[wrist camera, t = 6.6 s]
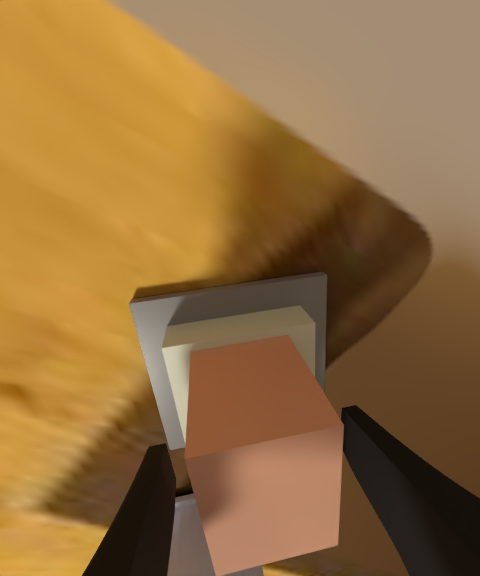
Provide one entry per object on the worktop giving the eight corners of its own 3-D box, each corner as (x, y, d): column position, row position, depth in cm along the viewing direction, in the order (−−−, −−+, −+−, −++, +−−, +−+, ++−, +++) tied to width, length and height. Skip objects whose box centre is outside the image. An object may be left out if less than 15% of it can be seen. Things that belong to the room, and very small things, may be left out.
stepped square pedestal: (320, 411, 18) (339, 446, 15) (171, 441, 17) (166, 483, 14) (322, 271, 14) (347, 288, 12) (131, 298, 13) (116, 323, 11)
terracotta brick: (292, 429, 14) (337, 545, 10) (210, 446, 14) (216, 576, 9) (288, 334, 12) (343, 424, 7) (190, 351, 12) (184, 459, 7)
